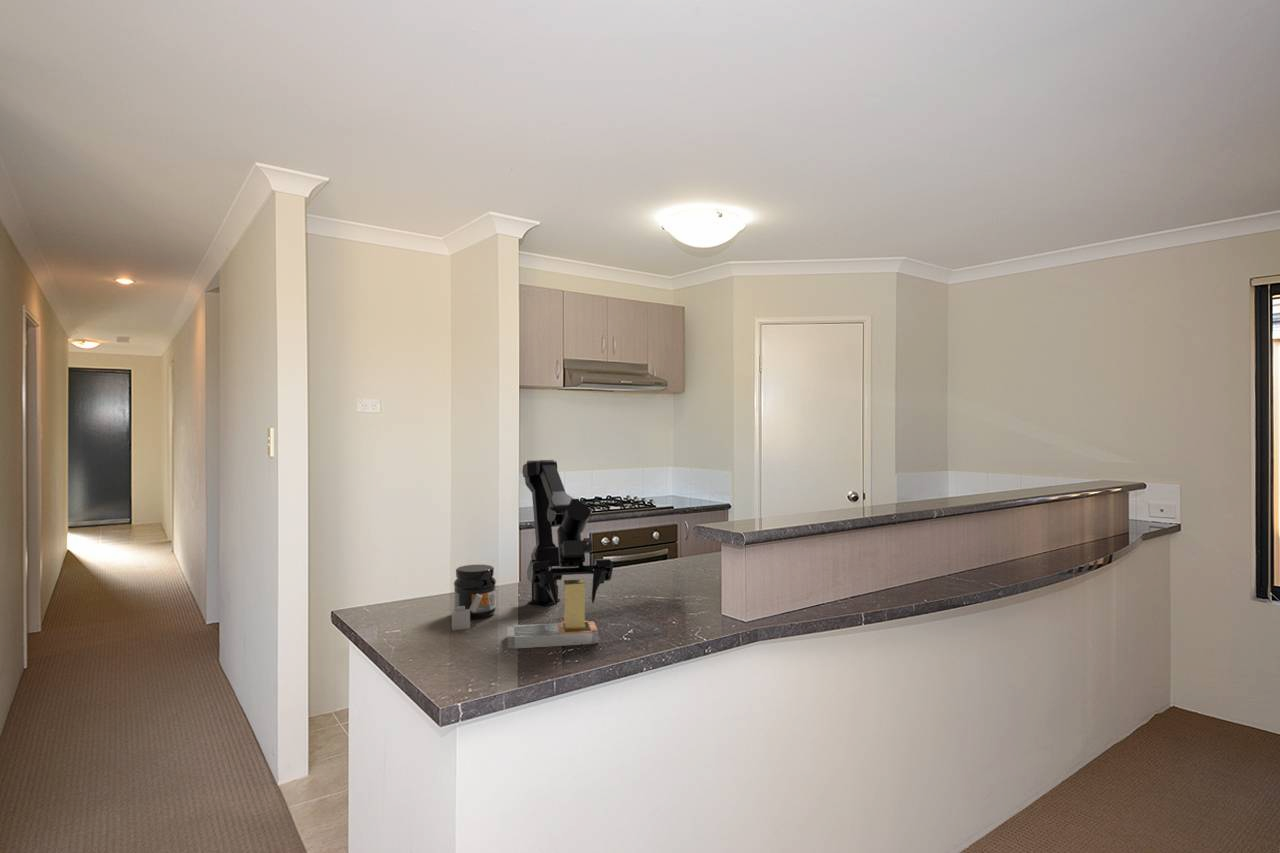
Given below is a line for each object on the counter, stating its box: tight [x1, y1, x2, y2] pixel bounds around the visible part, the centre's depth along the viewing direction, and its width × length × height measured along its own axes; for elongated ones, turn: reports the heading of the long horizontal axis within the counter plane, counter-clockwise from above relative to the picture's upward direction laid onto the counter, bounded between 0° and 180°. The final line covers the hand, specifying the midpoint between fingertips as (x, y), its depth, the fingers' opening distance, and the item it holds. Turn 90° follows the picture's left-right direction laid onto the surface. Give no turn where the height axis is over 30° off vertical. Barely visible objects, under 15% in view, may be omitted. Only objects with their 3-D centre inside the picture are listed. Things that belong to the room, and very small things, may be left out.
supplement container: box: [453, 563, 497, 620], centre depth 183 cm, size 10×10×12 cm
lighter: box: [451, 594, 483, 631], centre depth 171 cm, size 7×2×8 cm, turn 110°
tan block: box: [563, 579, 586, 632], centre depth 163 cm, size 4×4×13 cm
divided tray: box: [506, 620, 599, 650], centre depth 162 cm, size 20×9×3 cm, turn 101°
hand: (574, 603), depth 162 cm, fingers open, 8 cm apart
